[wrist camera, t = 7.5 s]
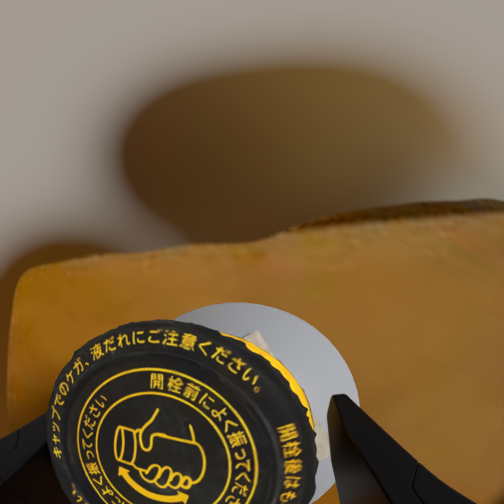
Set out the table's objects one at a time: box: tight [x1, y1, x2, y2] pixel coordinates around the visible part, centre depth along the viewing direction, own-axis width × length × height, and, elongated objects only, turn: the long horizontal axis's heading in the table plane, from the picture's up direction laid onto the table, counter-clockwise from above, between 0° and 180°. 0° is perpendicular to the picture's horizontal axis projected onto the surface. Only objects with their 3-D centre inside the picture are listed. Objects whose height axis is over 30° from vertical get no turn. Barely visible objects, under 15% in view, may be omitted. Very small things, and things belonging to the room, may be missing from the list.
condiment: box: [46, 319, 330, 504], centre depth 8 cm, size 7×8×12 cm
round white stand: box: [174, 303, 360, 504], centre depth 16 cm, size 14×14×4 cm
